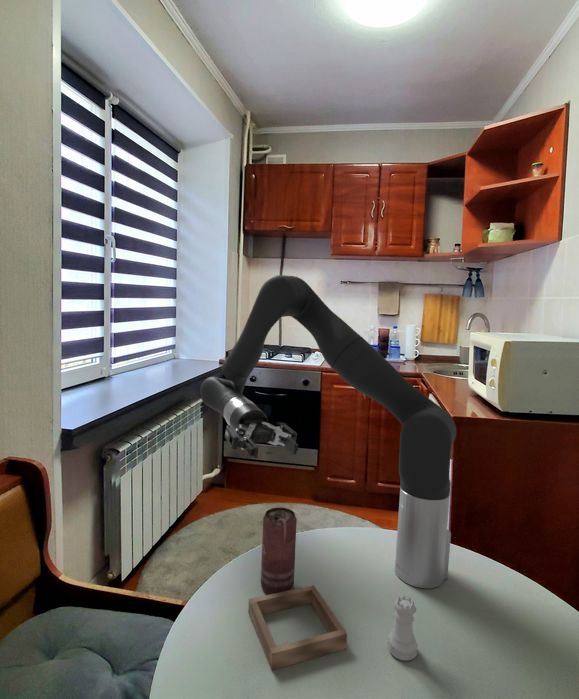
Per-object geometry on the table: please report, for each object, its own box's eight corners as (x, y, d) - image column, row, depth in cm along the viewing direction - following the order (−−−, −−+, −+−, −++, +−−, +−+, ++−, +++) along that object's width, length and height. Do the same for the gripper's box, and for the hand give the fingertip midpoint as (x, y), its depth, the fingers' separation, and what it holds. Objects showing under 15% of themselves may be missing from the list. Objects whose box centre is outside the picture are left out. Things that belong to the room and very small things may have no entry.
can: (269, 602, 74) (272, 525, 72) (255, 581, 79) (258, 509, 78) (300, 592, 76) (303, 518, 75) (284, 573, 82) (287, 503, 81)
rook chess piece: (418, 665, 61) (422, 614, 61) (387, 659, 62) (390, 608, 62) (415, 642, 66) (419, 594, 65) (386, 637, 67) (389, 589, 66)
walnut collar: (313, 598, 75) (313, 585, 75) (346, 649, 64) (346, 633, 64) (248, 613, 71) (248, 599, 70) (271, 670, 59) (272, 653, 59)
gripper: (216, 403, 90) (245, 436, 76) (275, 402, 97) (311, 432, 83) (212, 435, 92) (239, 473, 78) (270, 432, 99) (304, 466, 85)
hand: (276, 452), depth 81 cm, fingers open, 8 cm apart
